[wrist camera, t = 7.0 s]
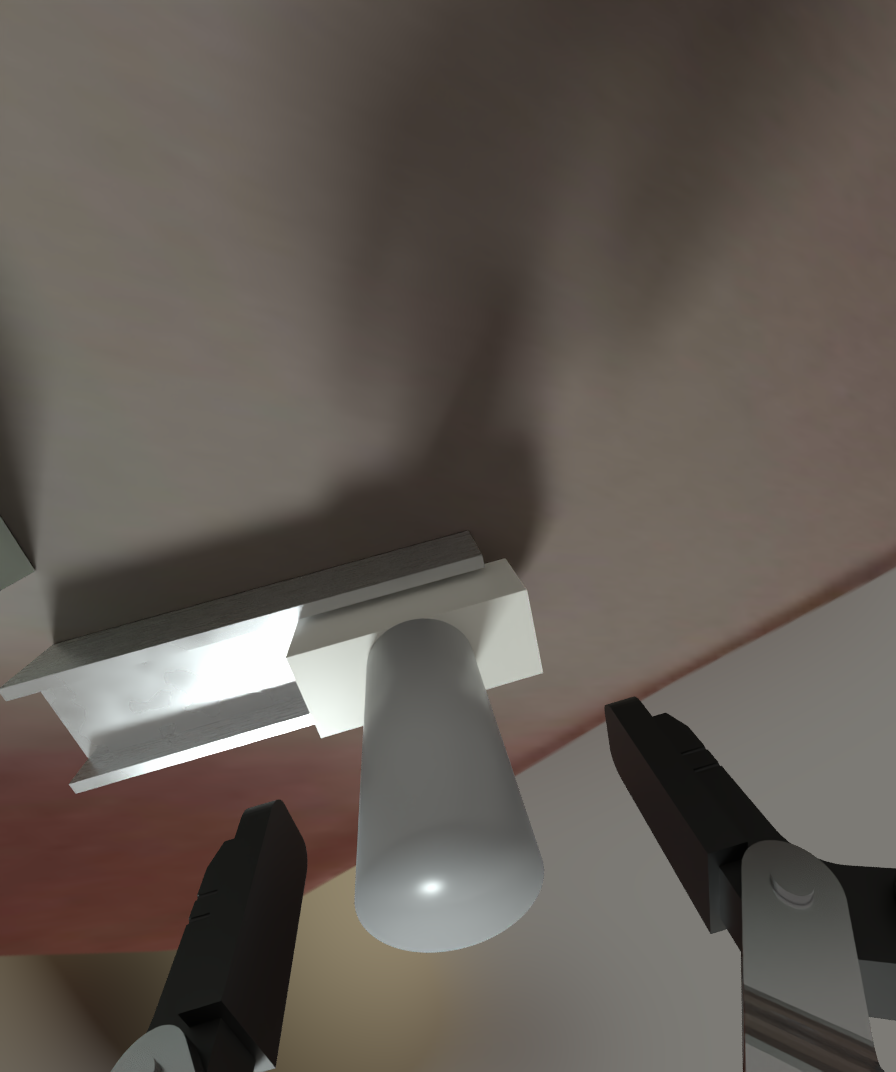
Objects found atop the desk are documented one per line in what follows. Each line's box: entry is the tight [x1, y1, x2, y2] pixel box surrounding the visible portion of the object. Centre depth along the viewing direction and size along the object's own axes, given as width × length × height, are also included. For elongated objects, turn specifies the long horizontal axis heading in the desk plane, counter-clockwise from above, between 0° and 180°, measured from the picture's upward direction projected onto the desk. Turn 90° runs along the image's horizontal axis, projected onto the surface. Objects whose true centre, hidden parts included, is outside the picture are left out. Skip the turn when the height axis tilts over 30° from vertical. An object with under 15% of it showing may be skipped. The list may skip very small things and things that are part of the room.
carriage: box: [286, 558, 544, 953], centre depth 13 cm, size 8×4×10 cm, turn 103°
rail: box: [0, 531, 485, 793], centre depth 18 cm, size 17×5×3 cm, turn 103°
